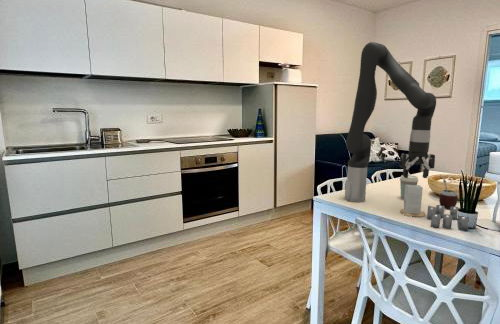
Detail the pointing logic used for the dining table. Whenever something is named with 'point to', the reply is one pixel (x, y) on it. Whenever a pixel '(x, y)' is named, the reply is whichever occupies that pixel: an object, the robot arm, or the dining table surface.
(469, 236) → the dining table surface
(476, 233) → the dining table surface
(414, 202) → the skincare box
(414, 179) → the coffee cup
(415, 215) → the coaster
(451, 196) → the mate gourd
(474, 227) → the spacer field
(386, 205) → the dining table surface
